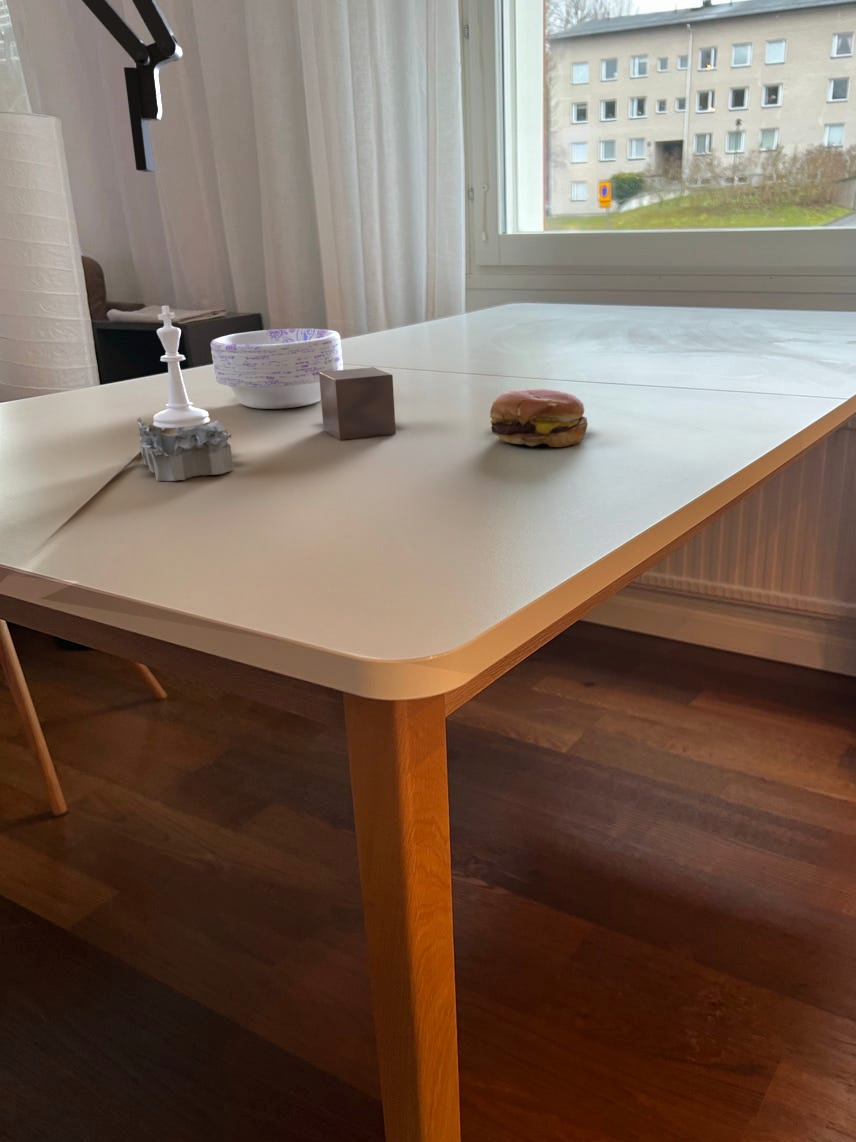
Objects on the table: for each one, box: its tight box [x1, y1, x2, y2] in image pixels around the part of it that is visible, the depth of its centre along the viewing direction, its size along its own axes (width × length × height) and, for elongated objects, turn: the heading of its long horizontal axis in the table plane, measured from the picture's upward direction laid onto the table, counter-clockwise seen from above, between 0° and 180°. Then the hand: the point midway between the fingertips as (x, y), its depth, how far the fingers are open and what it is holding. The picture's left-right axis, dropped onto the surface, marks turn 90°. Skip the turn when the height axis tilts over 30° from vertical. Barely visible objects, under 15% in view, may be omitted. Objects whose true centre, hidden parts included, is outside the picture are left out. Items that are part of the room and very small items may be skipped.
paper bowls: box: [210, 328, 344, 410], centre depth 119 cm, size 15×15×8 cm
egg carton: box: [136, 417, 235, 482], centre depth 90 cm, size 11×8×4 cm
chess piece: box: [152, 305, 211, 429], centre depth 87 cm, size 5×5×10 cm
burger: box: [489, 388, 588, 448], centre depth 97 cm, size 10×9×5 cm
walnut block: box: [319, 366, 397, 441], centre depth 102 cm, size 6×6×6 cm
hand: (50, 171), depth 73 cm, fingers open, 13 cm apart
